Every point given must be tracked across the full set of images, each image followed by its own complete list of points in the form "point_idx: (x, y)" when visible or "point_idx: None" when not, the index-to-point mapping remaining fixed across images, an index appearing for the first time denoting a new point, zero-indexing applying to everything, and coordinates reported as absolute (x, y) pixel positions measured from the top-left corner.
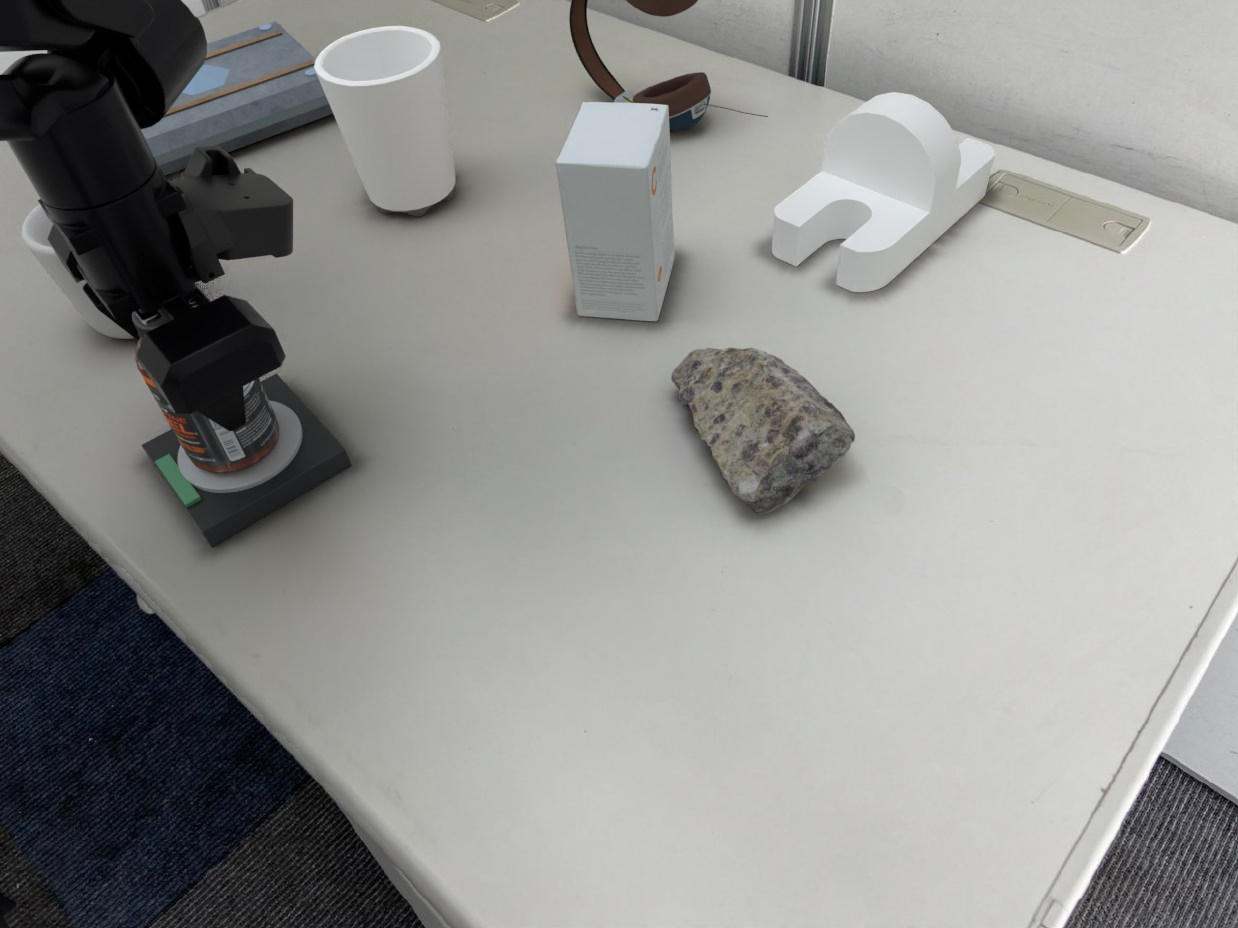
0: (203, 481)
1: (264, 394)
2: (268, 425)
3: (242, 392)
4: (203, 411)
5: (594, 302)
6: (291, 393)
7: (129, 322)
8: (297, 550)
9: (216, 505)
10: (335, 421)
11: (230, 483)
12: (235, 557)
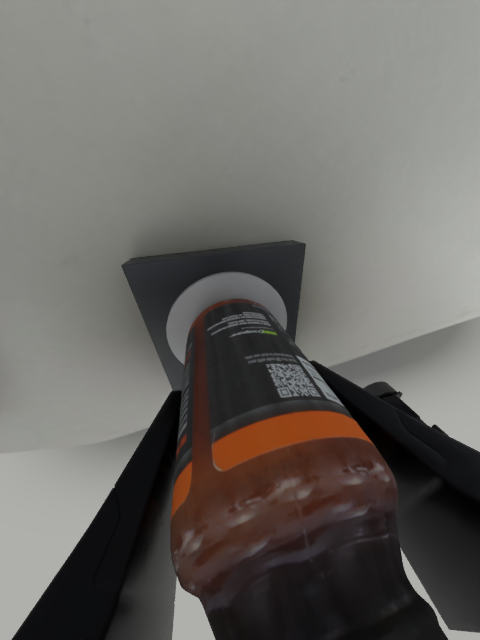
0: None
1: (269, 327)
2: (276, 320)
3: (383, 401)
4: None
5: None
6: (178, 262)
7: (167, 619)
8: (328, 311)
9: None
10: (223, 226)
11: None
12: (301, 344)
